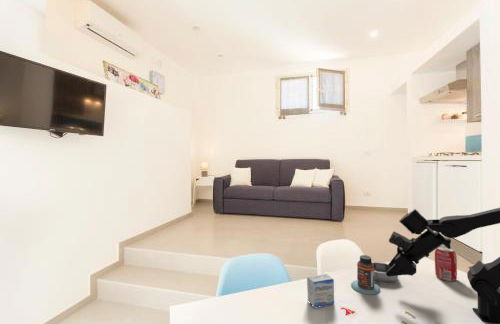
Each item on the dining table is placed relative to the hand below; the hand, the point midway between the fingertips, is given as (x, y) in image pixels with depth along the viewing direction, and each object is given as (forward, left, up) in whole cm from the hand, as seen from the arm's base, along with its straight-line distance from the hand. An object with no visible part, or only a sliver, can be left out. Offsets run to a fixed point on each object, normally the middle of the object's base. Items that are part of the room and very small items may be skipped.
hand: (388, 270), depth 91 cm
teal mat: (+2, +8, -8) cm, 11 cm away
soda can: (+20, -23, -9) cm, 32 cm away
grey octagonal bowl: (+13, +1, -8) cm, 15 cm away
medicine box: (-14, +23, -9) cm, 28 cm away
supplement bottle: (+2, +7, -8) cm, 11 cm away
